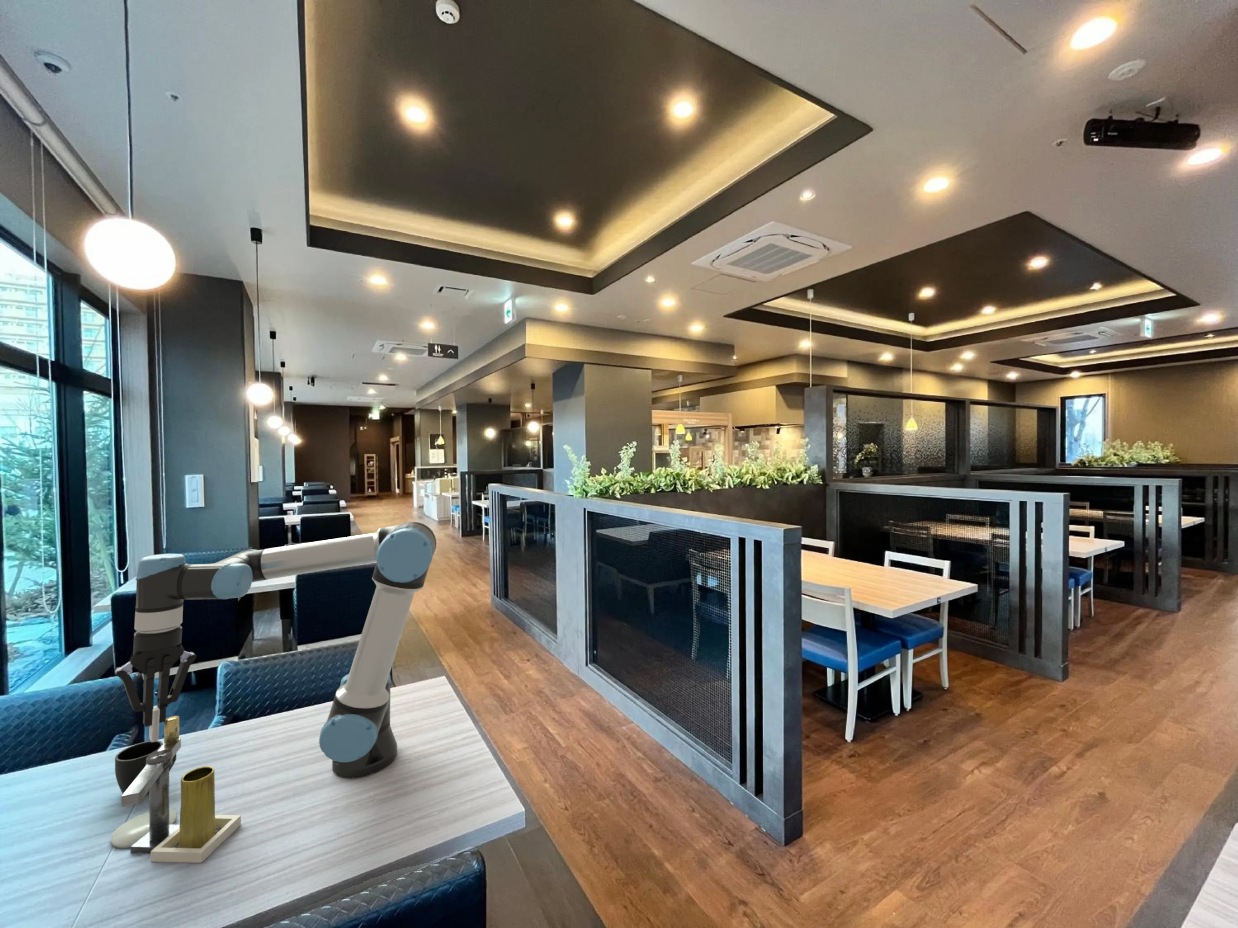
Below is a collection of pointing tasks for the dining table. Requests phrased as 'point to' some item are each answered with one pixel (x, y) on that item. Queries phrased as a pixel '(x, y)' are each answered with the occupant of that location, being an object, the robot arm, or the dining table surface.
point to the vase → (197, 808)
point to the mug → (134, 762)
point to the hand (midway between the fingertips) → (153, 738)
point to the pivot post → (157, 816)
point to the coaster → (135, 830)
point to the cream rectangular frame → (195, 855)
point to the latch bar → (154, 764)
